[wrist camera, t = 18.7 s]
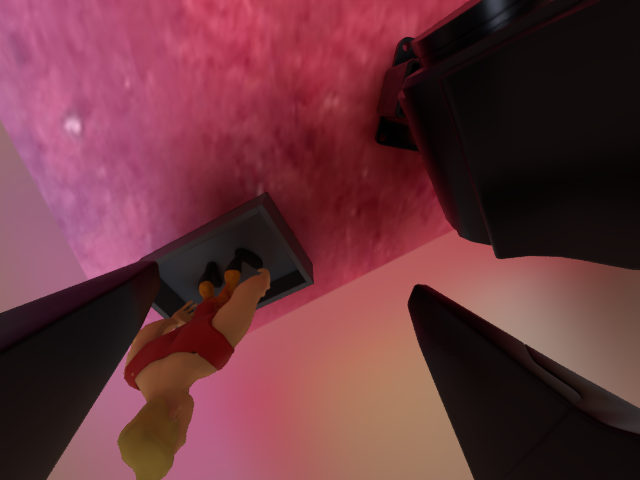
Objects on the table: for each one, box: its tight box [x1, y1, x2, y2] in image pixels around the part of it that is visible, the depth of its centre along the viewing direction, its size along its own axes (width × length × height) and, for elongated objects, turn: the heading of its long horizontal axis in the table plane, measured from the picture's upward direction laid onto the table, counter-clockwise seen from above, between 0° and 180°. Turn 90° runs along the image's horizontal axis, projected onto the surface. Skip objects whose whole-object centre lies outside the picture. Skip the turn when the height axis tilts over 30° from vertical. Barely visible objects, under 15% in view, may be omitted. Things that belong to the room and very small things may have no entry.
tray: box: [139, 192, 314, 329], centre depth 22 cm, size 13×8×3 cm, turn 117°
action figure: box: [117, 248, 270, 480], centre depth 16 cm, size 10×4×15 cm, turn 116°
